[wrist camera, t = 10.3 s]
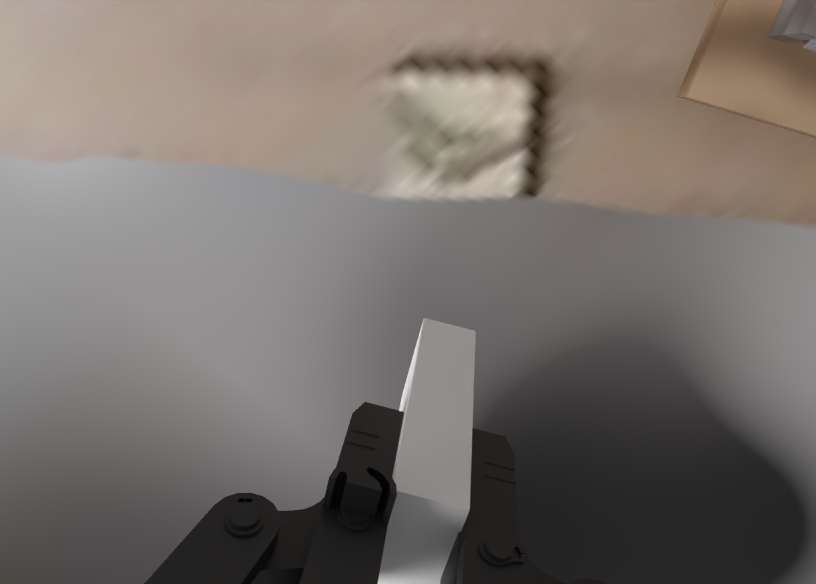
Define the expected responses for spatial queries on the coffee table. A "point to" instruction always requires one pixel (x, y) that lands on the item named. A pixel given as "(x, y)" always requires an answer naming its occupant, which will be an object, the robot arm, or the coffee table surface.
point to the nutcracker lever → (810, 44)
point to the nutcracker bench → (758, 62)
